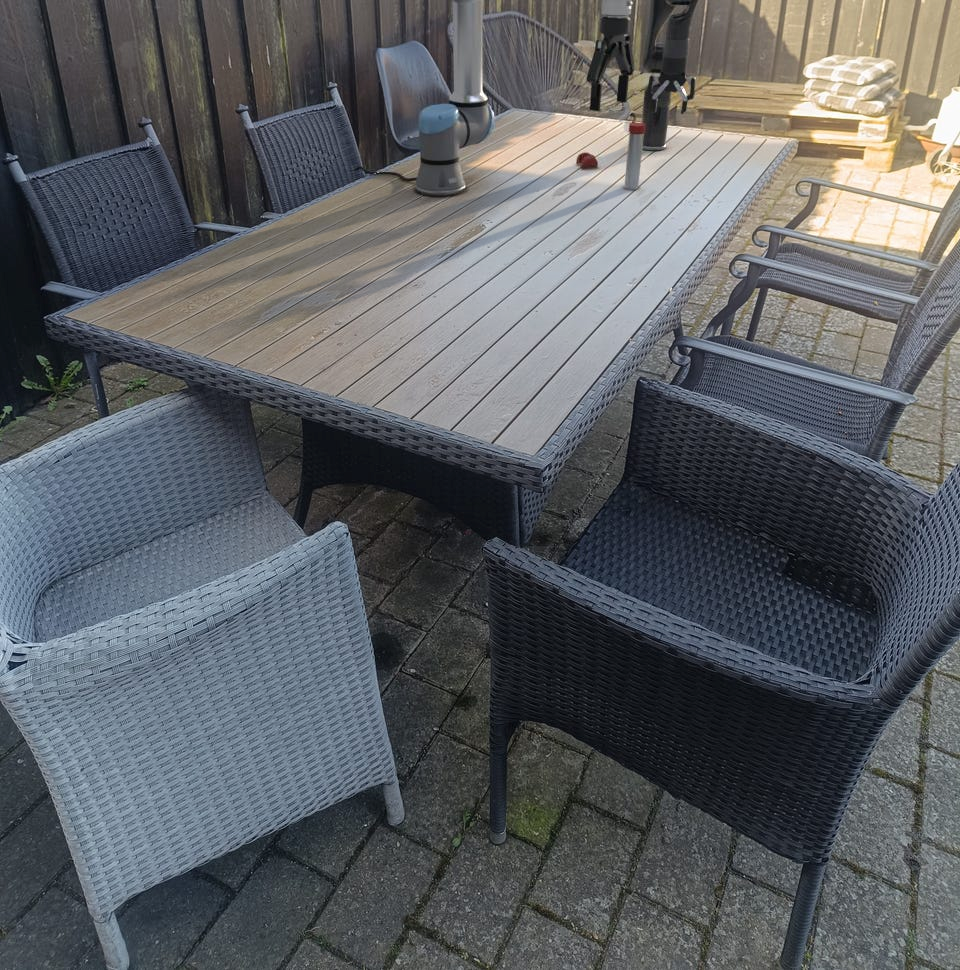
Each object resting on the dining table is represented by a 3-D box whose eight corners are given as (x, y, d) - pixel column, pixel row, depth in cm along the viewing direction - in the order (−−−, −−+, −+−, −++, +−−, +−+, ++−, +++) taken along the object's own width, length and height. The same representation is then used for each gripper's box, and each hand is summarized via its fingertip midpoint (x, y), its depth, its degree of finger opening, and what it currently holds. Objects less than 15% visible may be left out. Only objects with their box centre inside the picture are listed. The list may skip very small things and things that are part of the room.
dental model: (591, 148, 281) (599, 155, 275) (590, 161, 283) (599, 168, 277) (575, 150, 280) (583, 157, 274) (574, 163, 282) (582, 170, 276)
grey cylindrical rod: (624, 189, 258) (631, 127, 248) (623, 185, 262) (629, 124, 251) (638, 189, 258) (645, 127, 248) (637, 185, 262) (643, 124, 251)
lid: (629, 133, 249) (630, 126, 247) (627, 129, 253) (628, 122, 251) (645, 133, 249) (646, 126, 247) (643, 129, 252) (644, 122, 251)
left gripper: (602, 22, 204) (595, 116, 216) (653, 12, 219) (644, 100, 232) (576, 19, 207) (570, 112, 220) (628, 10, 223) (620, 96, 236)
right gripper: (700, 54, 253) (692, 111, 262) (653, 51, 256) (647, 108, 266) (698, 58, 247) (690, 117, 256) (649, 55, 250) (643, 114, 260)
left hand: (608, 106), depth 226 cm, fingers open, 13 cm apart
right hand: (668, 112), depth 261 cm, fingers open, 8 cm apart
